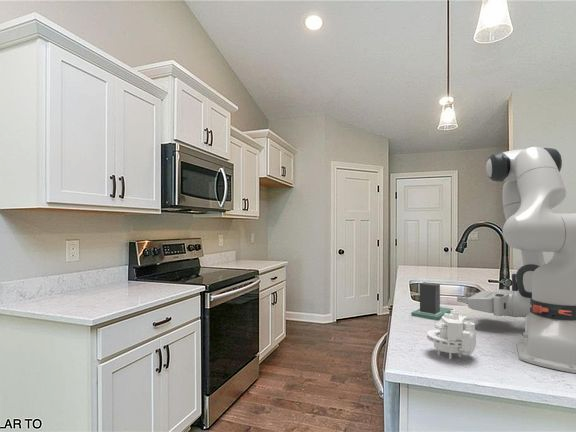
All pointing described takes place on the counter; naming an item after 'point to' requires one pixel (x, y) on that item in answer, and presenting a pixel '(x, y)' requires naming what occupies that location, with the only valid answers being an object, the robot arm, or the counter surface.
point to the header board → (431, 316)
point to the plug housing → (430, 298)
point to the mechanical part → (453, 334)
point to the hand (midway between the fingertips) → (461, 296)
